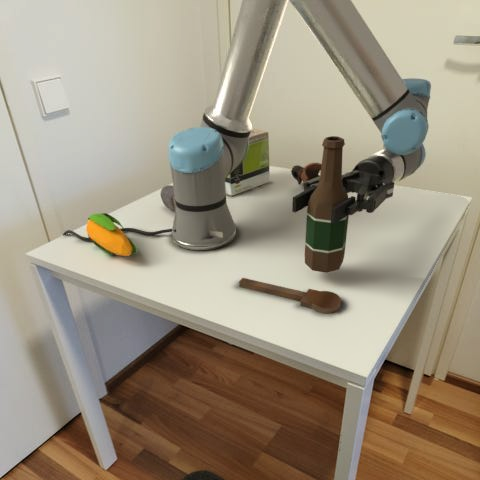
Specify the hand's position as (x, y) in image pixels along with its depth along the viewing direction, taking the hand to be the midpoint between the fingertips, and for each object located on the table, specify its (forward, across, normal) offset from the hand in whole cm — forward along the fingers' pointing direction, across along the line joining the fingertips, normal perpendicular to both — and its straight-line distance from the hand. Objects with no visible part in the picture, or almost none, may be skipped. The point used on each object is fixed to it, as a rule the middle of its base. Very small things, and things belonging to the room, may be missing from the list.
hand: (313, 210), depth 79 cm
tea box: (-33, +48, -16) cm, 61 cm away
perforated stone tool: (-9, +49, -16) cm, 52 cm away
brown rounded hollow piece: (-43, +30, -16) cm, 55 cm away
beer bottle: (-5, 0, -13) cm, 14 cm away
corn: (+14, +45, -16) cm, 50 cm away
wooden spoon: (+5, +1, -16) cm, 17 cm away
